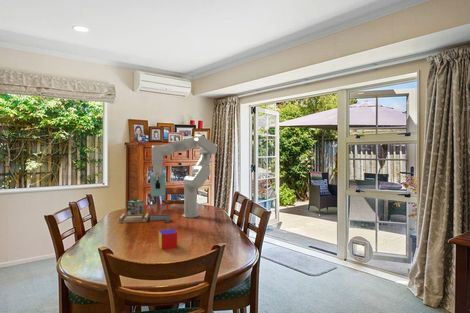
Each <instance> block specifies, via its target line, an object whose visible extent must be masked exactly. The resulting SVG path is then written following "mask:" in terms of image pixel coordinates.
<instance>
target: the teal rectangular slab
mask: <svg viewBox="0 0 470 313" xmlns="http://www.w3.org/2000/svg"><path fill="white" fill-rule="evenodd" d="M149 176H150V177H149V178H150V197H166V174H161V178H160V189H156V185H155V183H156V178H154V179H153V174H150V175H149ZM158 179H159V178H158Z"/></svg>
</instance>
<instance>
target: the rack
mask: <svg viewBox="0 0 470 313" xmlns="http://www.w3.org/2000/svg"><path fill="white" fill-rule="evenodd" d="M149 214H150V213H149V212H146V214H145V213H144V214H139V215H127V214H126V213H122V215H121V216H120V217H118V222H119V223H121V224H123V223H127V224H128V222H124V219H126V217H127V216H142V218H143V221H142V222H141V223H146V222H148V219H149V218H150V215H149Z"/></svg>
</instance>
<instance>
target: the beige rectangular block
mask: <svg viewBox="0 0 470 313" xmlns="http://www.w3.org/2000/svg"><path fill="white" fill-rule="evenodd" d="M142 221H143V218H142V216H127V217H126V219H124V222H127V223H143V222H142Z"/></svg>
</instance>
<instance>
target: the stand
mask: <svg viewBox="0 0 470 313" xmlns="http://www.w3.org/2000/svg"><path fill="white" fill-rule="evenodd" d="M149 221H150V222H151V221H152V222H153V221H154V222H155V221H157V222H158V221H163V223H171V214H151V215H149Z"/></svg>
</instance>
